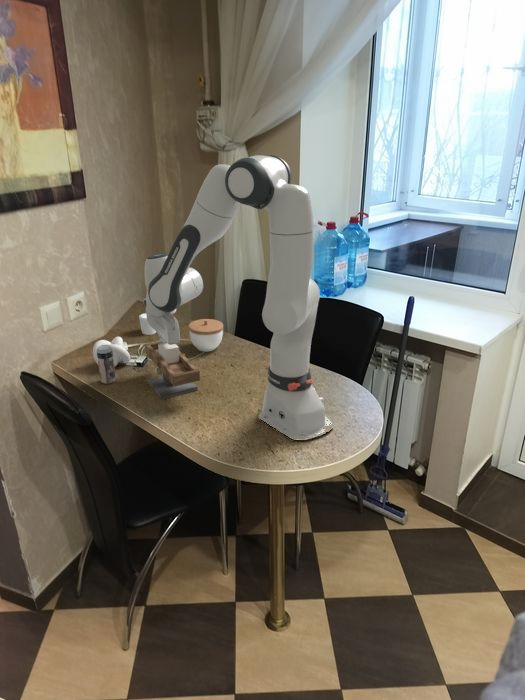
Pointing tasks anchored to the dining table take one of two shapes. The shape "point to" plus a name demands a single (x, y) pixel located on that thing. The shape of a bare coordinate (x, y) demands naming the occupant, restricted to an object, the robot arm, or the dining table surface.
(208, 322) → the lidded bowl
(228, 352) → the dining table surface
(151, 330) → the shot glass
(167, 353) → the white block
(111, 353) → the beer can
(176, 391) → the brown wooden tray
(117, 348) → the white knot sculpture
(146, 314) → the robot arm
